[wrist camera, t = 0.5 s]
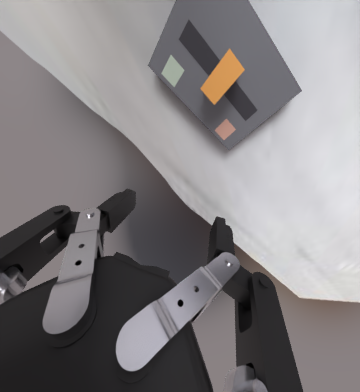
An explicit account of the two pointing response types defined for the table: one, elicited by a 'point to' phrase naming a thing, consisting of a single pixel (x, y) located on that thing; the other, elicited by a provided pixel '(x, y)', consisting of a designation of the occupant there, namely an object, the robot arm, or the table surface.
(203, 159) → the table surface
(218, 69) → the lever
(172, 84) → the switch panel
